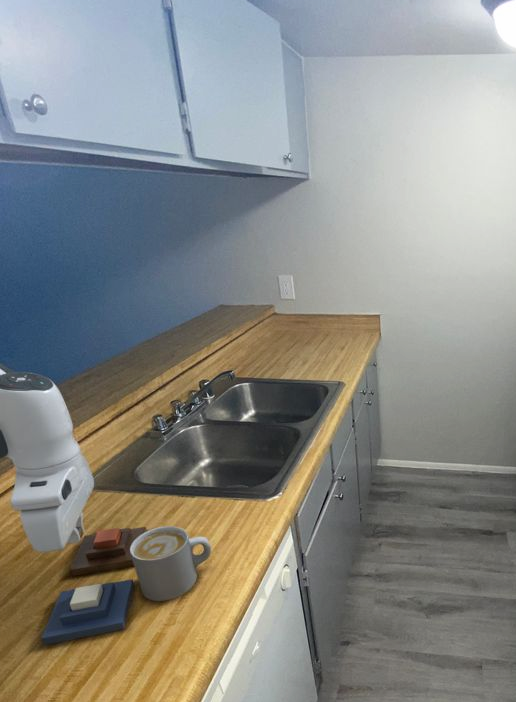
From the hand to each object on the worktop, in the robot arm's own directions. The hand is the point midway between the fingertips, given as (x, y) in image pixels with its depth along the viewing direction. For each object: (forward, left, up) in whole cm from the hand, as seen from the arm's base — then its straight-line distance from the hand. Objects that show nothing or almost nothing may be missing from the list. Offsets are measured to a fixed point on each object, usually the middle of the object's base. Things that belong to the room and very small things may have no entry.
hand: (77, 538), depth 83 cm
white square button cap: (0, -5, -11) cm, 12 cm away
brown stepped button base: (0, +12, -14) cm, 19 cm away
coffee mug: (+14, 0, -14) cm, 20 cm away
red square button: (0, +12, -11) cm, 16 cm away
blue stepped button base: (0, -5, -14) cm, 15 cm away
